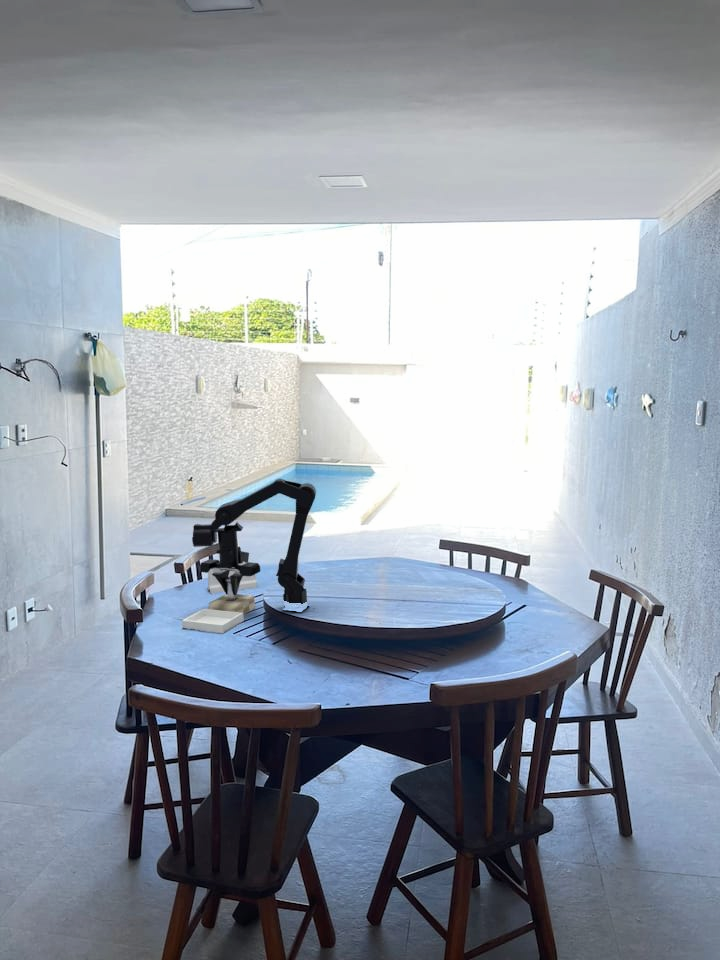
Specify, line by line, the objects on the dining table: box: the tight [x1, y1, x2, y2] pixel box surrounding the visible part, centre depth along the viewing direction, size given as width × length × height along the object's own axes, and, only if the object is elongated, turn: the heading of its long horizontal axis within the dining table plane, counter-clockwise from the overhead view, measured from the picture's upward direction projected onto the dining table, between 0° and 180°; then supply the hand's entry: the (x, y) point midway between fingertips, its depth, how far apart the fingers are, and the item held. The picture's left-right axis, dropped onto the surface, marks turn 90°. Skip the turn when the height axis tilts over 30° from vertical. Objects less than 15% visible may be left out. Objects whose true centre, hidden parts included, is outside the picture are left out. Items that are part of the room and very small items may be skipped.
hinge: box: [207, 562, 258, 595], centre depth 263 cm, size 17×5×10 cm, turn 109°
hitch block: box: [208, 593, 256, 616], centre depth 237 cm, size 10×10×4 cm
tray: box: [181, 608, 244, 635], centre depth 226 cm, size 14×11×2 cm
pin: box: [225, 577, 236, 601], centre depth 237 cm, size 3×3×11 cm
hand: (231, 594), depth 237 cm, fingers closed on pin, 2 cm apart
